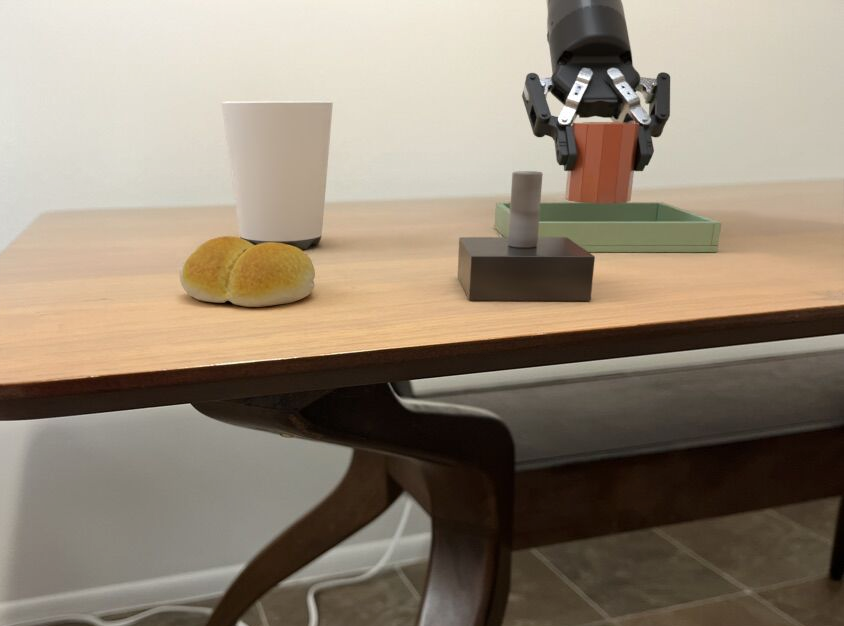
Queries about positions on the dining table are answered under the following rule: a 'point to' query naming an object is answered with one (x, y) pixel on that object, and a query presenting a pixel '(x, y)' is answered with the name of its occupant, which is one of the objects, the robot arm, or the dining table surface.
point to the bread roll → (247, 273)
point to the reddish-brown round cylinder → (603, 162)
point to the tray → (622, 226)
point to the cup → (279, 168)
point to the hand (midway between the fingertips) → (606, 164)
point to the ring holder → (525, 256)
